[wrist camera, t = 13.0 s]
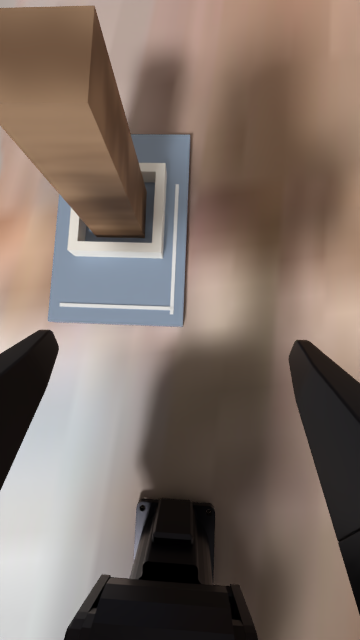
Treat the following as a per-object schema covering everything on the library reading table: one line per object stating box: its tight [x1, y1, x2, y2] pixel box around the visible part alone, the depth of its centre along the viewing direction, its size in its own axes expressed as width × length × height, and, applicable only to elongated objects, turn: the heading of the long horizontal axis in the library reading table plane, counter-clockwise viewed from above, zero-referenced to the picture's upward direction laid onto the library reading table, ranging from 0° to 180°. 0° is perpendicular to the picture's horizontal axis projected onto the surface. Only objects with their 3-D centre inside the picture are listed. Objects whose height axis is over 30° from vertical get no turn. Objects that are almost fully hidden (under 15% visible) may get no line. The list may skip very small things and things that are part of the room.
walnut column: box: [0, 6, 147, 238], centre depth 17 cm, size 4×4×13 cm
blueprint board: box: [48, 134, 190, 327], centre depth 23 cm, size 18×12×2 cm, turn 178°
